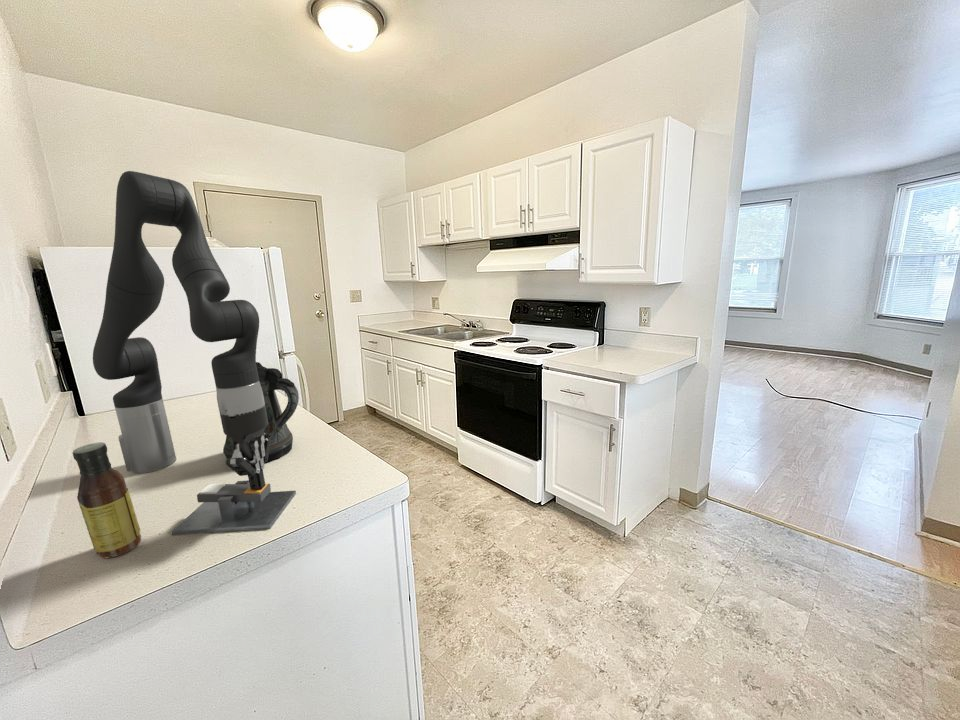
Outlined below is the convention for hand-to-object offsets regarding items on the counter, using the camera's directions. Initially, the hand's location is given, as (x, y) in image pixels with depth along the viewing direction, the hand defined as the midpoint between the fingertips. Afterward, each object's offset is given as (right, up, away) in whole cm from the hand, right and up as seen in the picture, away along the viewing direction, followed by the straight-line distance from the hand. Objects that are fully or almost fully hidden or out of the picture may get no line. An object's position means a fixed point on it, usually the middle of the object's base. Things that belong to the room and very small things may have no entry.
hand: (258, 488), depth 79 cm
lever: (-5, -1, 0) cm, 5 cm away
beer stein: (-14, 0, +29) cm, 32 cm away
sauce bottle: (-20, -8, -8) cm, 23 cm away
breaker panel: (-4, -5, +1) cm, 7 cm away
